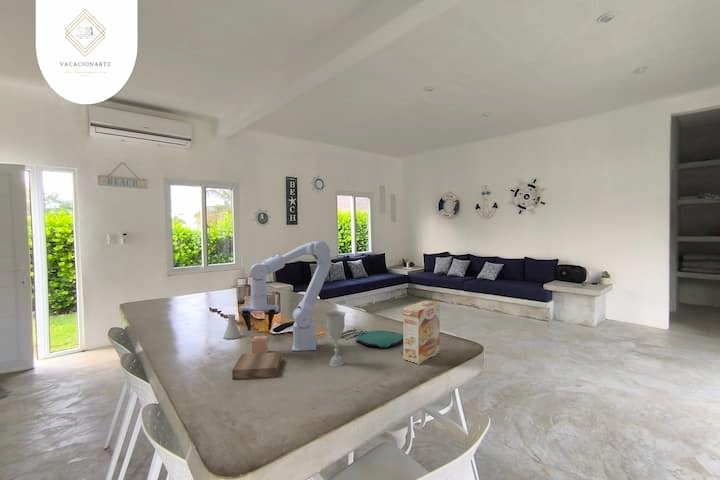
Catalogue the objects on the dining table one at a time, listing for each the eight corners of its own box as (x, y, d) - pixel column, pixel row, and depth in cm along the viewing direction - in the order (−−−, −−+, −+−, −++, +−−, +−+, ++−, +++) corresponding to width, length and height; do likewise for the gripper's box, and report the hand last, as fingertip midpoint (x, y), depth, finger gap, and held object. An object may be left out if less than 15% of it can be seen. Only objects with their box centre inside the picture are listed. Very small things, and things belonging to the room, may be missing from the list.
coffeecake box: (419, 365, 121) (418, 310, 120) (402, 360, 126) (402, 307, 125) (440, 353, 132) (440, 302, 131) (424, 348, 137) (424, 300, 136)
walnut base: (281, 360, 127) (281, 352, 127) (276, 376, 113) (276, 367, 113) (242, 362, 126) (242, 354, 126) (232, 379, 112) (232, 370, 112)
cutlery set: (385, 353, 133) (385, 347, 133) (330, 339, 152) (330, 333, 152) (412, 340, 148) (412, 335, 148) (359, 328, 167) (359, 324, 167)
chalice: (330, 369, 119) (329, 317, 118) (323, 362, 125) (322, 312, 124) (349, 364, 122) (349, 314, 121) (341, 358, 128) (341, 310, 127)
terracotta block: (267, 350, 137) (267, 335, 137) (265, 355, 132) (265, 340, 132) (254, 351, 137) (254, 336, 136) (252, 356, 132) (251, 340, 131)
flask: (235, 340, 150) (234, 317, 150) (220, 339, 152) (219, 316, 151) (243, 335, 157) (243, 313, 157) (229, 334, 159) (228, 312, 158)
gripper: (279, 292, 138) (279, 325, 139) (241, 293, 136) (242, 327, 137) (276, 295, 131) (277, 331, 132) (237, 297, 129) (238, 332, 130)
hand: (259, 329), depth 134 cm, fingers open, 7 cm apart
